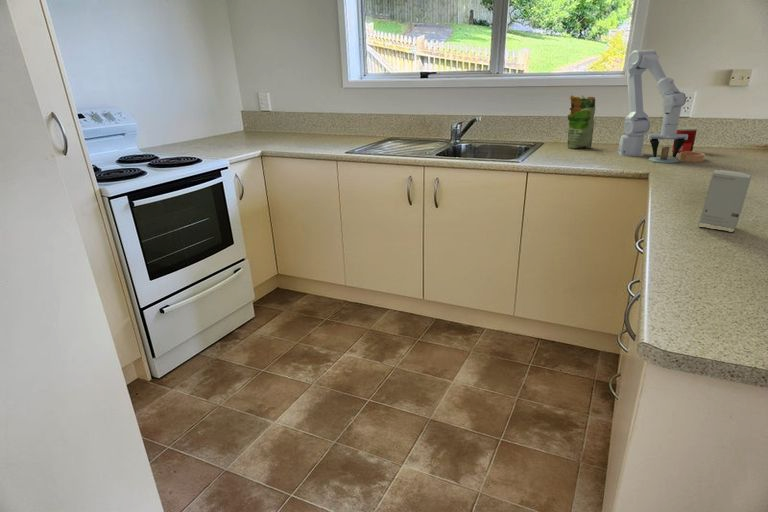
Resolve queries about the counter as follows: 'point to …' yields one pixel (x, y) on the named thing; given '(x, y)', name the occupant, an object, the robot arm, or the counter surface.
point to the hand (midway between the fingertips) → (664, 156)
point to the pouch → (581, 122)
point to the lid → (664, 157)
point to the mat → (657, 162)
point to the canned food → (690, 141)
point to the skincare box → (725, 198)
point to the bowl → (691, 156)
